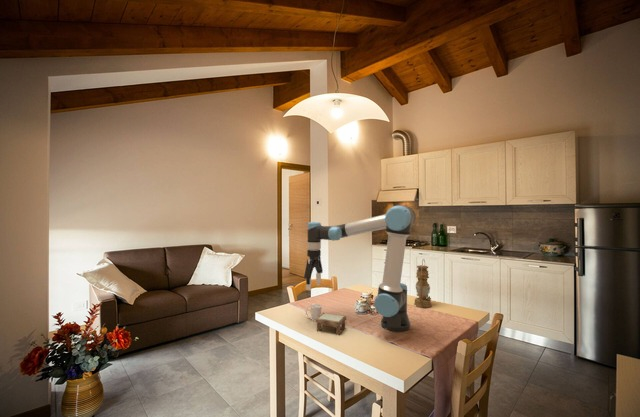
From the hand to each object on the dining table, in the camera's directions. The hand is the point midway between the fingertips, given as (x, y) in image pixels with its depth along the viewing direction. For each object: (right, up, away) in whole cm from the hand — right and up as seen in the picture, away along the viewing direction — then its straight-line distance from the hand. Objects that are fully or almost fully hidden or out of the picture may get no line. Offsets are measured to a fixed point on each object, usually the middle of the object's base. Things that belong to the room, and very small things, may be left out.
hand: (313, 287), depth 170 cm
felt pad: (+9, -12, -14) cm, 21 cm away
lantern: (+70, -19, +26) cm, 77 cm away
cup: (0, -19, 0) cm, 19 cm away
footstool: (+9, -18, -14) cm, 25 cm away
